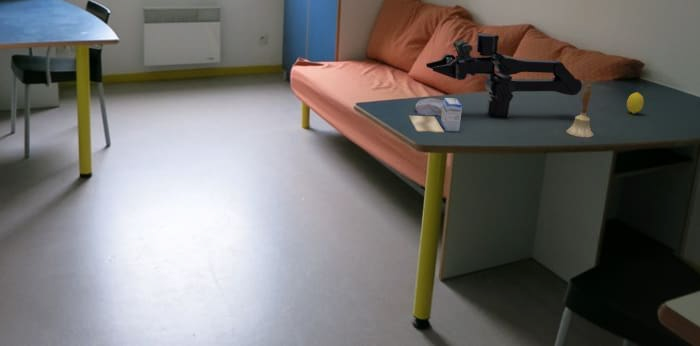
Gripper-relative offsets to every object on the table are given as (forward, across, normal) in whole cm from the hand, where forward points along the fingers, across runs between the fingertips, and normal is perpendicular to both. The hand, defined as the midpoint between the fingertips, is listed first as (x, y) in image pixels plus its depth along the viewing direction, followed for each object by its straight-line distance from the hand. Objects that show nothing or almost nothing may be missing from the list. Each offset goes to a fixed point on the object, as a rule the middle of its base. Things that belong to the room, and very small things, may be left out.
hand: (429, 67), depth 238 cm
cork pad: (+4, +12, +16) cm, 21 cm away
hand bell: (-45, +17, +20) cm, 53 cm away
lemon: (-78, -10, +20) cm, 81 cm away
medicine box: (-4, +15, +17) cm, 23 cm away
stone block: (-2, -5, +16) cm, 17 cm away
